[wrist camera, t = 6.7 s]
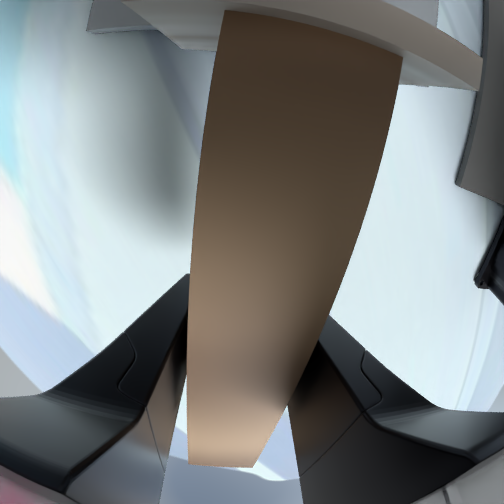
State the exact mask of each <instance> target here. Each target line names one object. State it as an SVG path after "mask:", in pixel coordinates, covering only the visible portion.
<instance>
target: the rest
mask: <svg viewBox="0 0 504 504" xmlns="http://www.w3.org/2000/svg"><path fill="white" fill-rule="evenodd" d="M482 58H483V64H482V73H481V81H480V88H479V91H477V97H476V103H475V108H474V114H473V118H472V123H471V128H470V132H469V136H468V141H467V145H466V149H465V152H464V156H463V160H462V163H461V167H460V170H459V174H458V177H457V180H456V183H455V184H456V185H457V186H459V187H461V188H464V189H466V190H469V191H471V192H474V193H476V194H478V195H481V196H483V197H485V198H488V199H490V200H492V201H495V202H497V203H499V204H501V205H503V206H504V0H484V32H483V49H482Z"/></svg>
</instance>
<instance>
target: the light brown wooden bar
mask: <svg viewBox="0 0 504 504" xmlns="http://www.w3.org/2000/svg"><path fill="white" fill-rule="evenodd" d="M121 2H122V3H123V4H125V5H126V6H127V7H129V8H130V9H132V10H133V11H134V12H136V13H137V14H138V15H140V16H141V17H142V18H144V19H145V20H146V21H147V22H149V23H150V24H151V25H153V26H154V27H155V28H156V29H158V30H159V31H160V32H161V33H163V34H164V35H165V36H166V37H168V38H169V39H170V40H171V41H172V42H174V43H175V44H176V45H177V46H178V47H180V48H181V49H189V50H204V51H216V57H215V62H214V68H213V74H212V80H211V86H210V92H209V99H208V105H207V112H206V119H205V126H204V134H203V141H202V149H201V158H200V166H199V175H198V184H197V194H196V204H195V215H194V227H193V239H192V253H191V268H190V285H189V306H188V333H187V438H188V463H189V464H192V465H202V466H217V467H248V468H253V466H254V464H255V463H256V461H257V459H258V457H259V456H260V454H261V452H262V450H263V449H264V447H265V445H266V443H267V442H268V440H269V438H270V436H271V434H272V433H273V431H274V429H275V427H276V425H277V423H278V421H279V420H280V418H281V416H282V414H283V412H284V410H285V408H286V406H287V404H288V402H289V400H290V398H291V396H292V394H293V392H294V390H295V388H296V386H297V384H298V382H299V380H300V378H301V376H302V374H303V372H304V369H305V367H306V365H307V363H308V361H309V359H310V357H311V354H312V352H313V350H314V348H315V345H316V343H317V341H318V339H319V336H320V334H321V332H322V329H323V327H324V325H325V322H326V320H327V318H328V315H329V313H330V310H331V308H332V305H333V303H334V300H335V298H336V295H337V293H338V290H339V288H340V285H341V282H342V280H343V277H344V274H345V272H346V269H347V266H348V264H349V261H350V258H351V255H352V252H353V250H354V247H355V244H356V241H357V238H358V235H359V232H360V229H361V226H362V223H363V220H364V217H365V214H366V211H367V207H368V204H369V201H370V198H371V194H372V191H373V188H374V184H375V181H376V177H377V174H378V170H379V166H380V163H381V159H382V155H383V151H384V147H385V143H386V139H387V135H388V131H389V127H390V123H391V118H392V114H393V109H394V104H395V100H396V95H397V90H398V85H399V84H404V85H425V86H438V87H448V88H458V89H466V90H473V91H479V88H480V81H481V73H482V64H483V58H481V57H480V56H479V55H477V54H476V53H475V52H473V51H472V50H470V49H469V48H467V47H466V46H465V45H463V44H462V43H460V42H459V41H457V40H455V39H454V38H452V37H451V36H449V35H448V34H446V33H444V32H443V31H441V30H439V29H438V28H436V27H434V26H432V25H431V24H429V23H427V22H425V21H423V20H421V19H420V18H418V17H416V16H414V15H412V14H410V13H408V12H406V11H404V10H402V9H400V8H398V7H395V6H393V5H391V4H389V3H387V2H384V1H382V0H121Z"/></svg>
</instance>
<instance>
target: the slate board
mask: <svg viewBox="0 0 504 504" xmlns="http://www.w3.org/2000/svg"><path fill="white" fill-rule="evenodd" d="M382 1H384V2H387V3H389V4H391V5H393V6H395V7H398V8H400V9H402V10H404V11H406V12H408V13H410V14H412V15H414V16H416V17H418V18H420V19H421V20H423V21H425V22H427V23H429V24H431V25H432V26H434V27H436V28H437V18H438V3H439V0H382ZM135 30H158V29H156V28H155V27H154V26H153V25H151V24H150V23H149V22H147V21H146V20H145V19H144V18H142V17H141V16H140V15H138V14H137V13H136V12H134V11H133V10H132V9H130V8H129V7H127V6H126V5H125V4H123V3H122V2H121V0H93V3H92V7H91V11H90V16H89V20H88V25H87V29H86V31H88V32H91V33H94V34H99V33H108V32H119V31H135ZM416 86H421V87H429V86H425V85H416Z"/></svg>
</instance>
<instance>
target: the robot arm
mask: <svg viewBox="0 0 504 504" xmlns="http://www.w3.org/2000/svg"><path fill="white" fill-rule="evenodd" d="M189 285H190V274H186V275H184V276H183V277H182V278H181V279H180V280H179V281H178V282H177V283H176V284H174V285H173V286H172V287H171V288H170V289H169V290H168V291H167V292H166V293H165V294H163V295H162V296H161V297H160V298H159V299H158V300H157V301H156V302H155V303H154V304H153V305H152V306H150V307H149V308H148V309H147V310H146V311H145V312H144V313H143V314H142V315H141V316H140V317H139V318H137V319H136V320H135V321H134V322H133V323H132V324H131V325H130V326H129V327H128V328H127V329H126V330H125V331H124V332H123V333H121V334H120V335H119V336H118V337H117V338H116V339H115V340H114V341H113V342H112V343H110V344H109V345H108V346H107V347H106V348H105V349H104V350H103V351H101V352H100V353H99V354H97V355H96V356H95V357H94V358H92V359H91V360H90V361H88V362H87V363H86V364H84V365H83V366H82V367H80V368H79V369H78V370H76V371H75V372H74V373H72V374H71V375H70V376H68V377H67V378H66V379H64V380H63V381H61V382H60V383H59V384H57V385H56V386H54V387H53V388H51V389H50V390H48V391H46V392H43V393H41V394H38V395H32V396H20V397H4V398H0V504H159V501H160V496H161V491H162V485H163V481H164V476H165V474H164V473H165V470H166V465H167V460H168V456H169V451H170V446H171V441H172V437H173V432H174V427H175V423H176V418H177V414H178V409H179V405H180V400H181V396H182V392H183V387H184V383H185V379H186V375H187V333H188V306H189ZM475 285H476V286H477V287H478V288H482V289H490V290H491V291H492V293H493V294H494V295H495V296H496V297H497V298H498V299H499V300H500V301H501V303H502V304H503V305H504V217H503V220H502V223H501V225H500V228H499V230H498V233H497V235H496V237H495V240H494V242H493V244H492V247H491V249H490V251H489V253H488V256H487V258H486V260H485V262H484V264H483V266H482V268H481V270H480V272H479V274H478V276H477V278H476V280H475ZM287 406H288V412H289V418H290V424H291V430H292V436H293V442H294V448H295V454H296V460H297V466H298V472H299V477H300V478H299V479H300V484H301V491H302V498H303V504H504V412H503V413H502V412H499V413H498V412H474V411H458V410H448V409H444V408H441V407H438V406H436V405H434V404H432V403H431V402H429V401H428V400H427V399H425V398H424V397H423V396H422V395H420V394H419V393H418V392H416V391H415V390H414V389H412V388H411V387H410V386H409V385H407V384H406V383H405V382H403V381H402V380H401V379H400V378H398V377H397V376H396V375H395V374H393V373H392V372H391V371H390V370H388V369H387V368H386V367H385V366H384V365H383V364H382V363H380V362H379V361H378V360H377V359H376V358H375V357H374V356H373V355H372V354H371V353H370V352H368V351H367V350H366V351H365V348H364V347H363V346H362V345H361V344H360V343H359V342H358V341H357V340H355V339H354V338H353V337H352V336H351V335H350V334H349V333H348V332H347V331H346V330H345V329H344V328H343V327H342V326H340V325H339V324H338V323H337V322H336V321H335V320H334V319H333V318H332V317H331V316H330V315H328V318H327V320H326V322H325V325H324V327H323V329H322V332H321V334H320V336H319V339H318V341H317V343H316V345H315V348H314V350H313V352H312V354H311V357H310V359H309V361H308V363H307V365H306V367H305V369H304V372H303V374H302V376H301V378H300V380H299V382H298V384H297V386H296V388H295V390H294V392H293V394H292V396H291V398H290V400H289V402H288V404H287Z"/></svg>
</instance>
